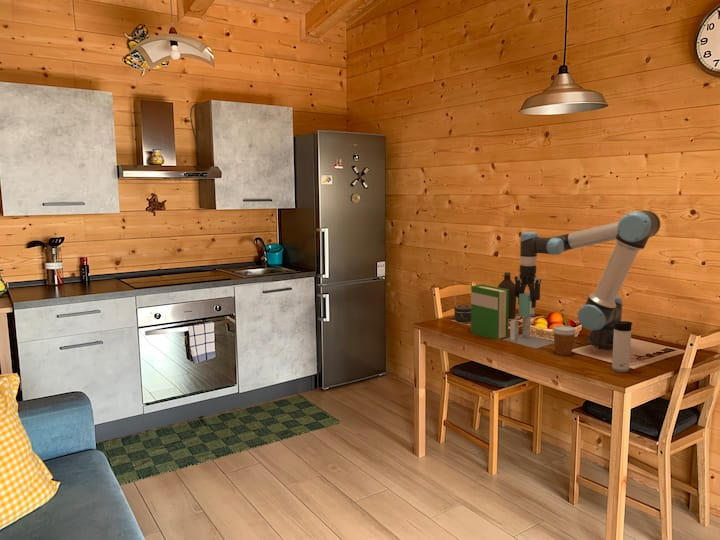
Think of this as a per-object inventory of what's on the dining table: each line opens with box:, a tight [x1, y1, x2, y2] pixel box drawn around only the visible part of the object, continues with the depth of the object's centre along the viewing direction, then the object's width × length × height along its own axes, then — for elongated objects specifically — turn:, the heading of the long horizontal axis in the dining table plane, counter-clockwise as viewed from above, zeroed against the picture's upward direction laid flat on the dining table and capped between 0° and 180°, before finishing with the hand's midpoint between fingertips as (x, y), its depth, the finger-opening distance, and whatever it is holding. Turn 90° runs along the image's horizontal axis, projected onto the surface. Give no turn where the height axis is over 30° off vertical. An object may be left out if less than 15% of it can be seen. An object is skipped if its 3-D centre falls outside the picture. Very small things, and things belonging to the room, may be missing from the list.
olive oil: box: [497, 271, 517, 320], centre depth 311 cm, size 11×11×25 cm
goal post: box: [519, 316, 534, 339], centre depth 269 cm, size 4×4×10 cm
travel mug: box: [611, 320, 633, 373], centre depth 222 cm, size 6×7×20 cm
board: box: [501, 333, 555, 349], centre depth 263 cm, size 19×15×1 cm
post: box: [507, 319, 521, 343], centre depth 264 cm, size 4×4×10 cm
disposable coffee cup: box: [552, 324, 577, 356], centre depth 243 cm, size 10×10×12 cm
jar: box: [453, 304, 471, 323], centre depth 307 cm, size 10×10×8 cm
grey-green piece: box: [518, 291, 536, 318], centre depth 268 cm, size 5×5×11 cm
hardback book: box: [470, 284, 509, 340], centre depth 274 cm, size 18×7×24 cm, turn 33°
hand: (526, 312), depth 268 cm, fingers closed on grey-green piece, 5 cm apart
